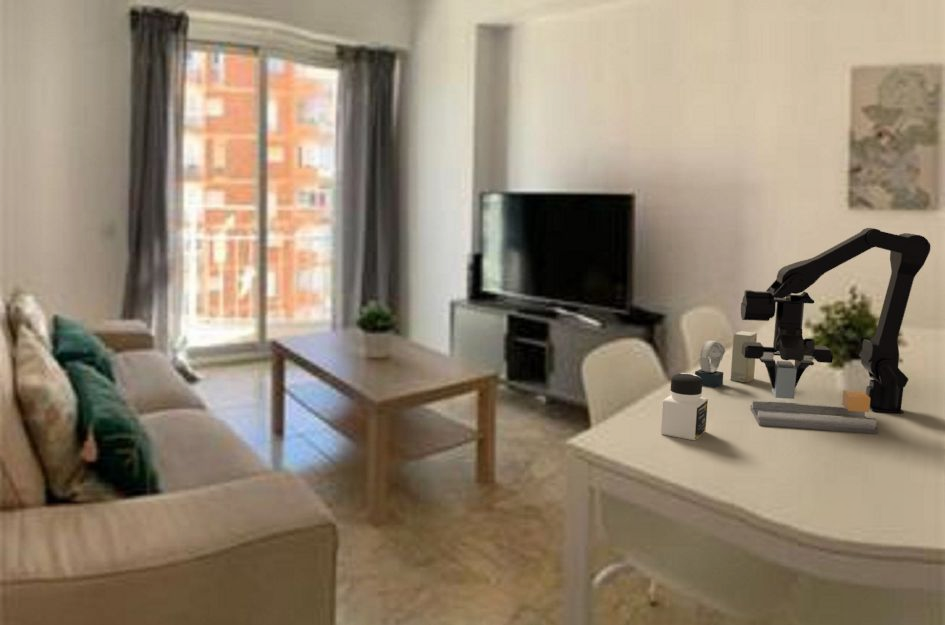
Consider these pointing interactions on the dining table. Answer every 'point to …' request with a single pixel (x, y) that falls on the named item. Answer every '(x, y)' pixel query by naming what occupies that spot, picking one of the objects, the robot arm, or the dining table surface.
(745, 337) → the skincare box
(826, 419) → the rail plate
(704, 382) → the watch
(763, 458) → the dining table surface
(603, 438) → the dining table surface
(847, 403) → the plain orange cuboid
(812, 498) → the dining table surface
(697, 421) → the medicine bottle
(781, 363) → the block
